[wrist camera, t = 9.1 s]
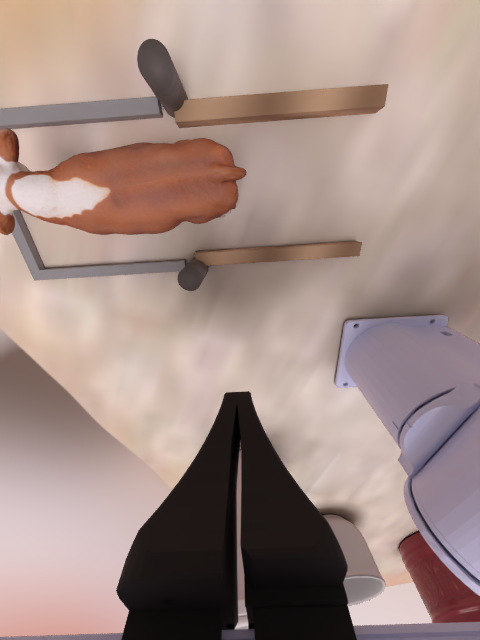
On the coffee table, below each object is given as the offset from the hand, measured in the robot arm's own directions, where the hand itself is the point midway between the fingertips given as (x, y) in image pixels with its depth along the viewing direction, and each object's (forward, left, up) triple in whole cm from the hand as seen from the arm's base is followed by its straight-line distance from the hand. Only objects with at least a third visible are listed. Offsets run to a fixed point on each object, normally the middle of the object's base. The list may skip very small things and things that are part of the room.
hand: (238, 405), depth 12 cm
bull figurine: (+6, -11, -10) cm, 16 cm away
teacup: (-12, +40, -10) cm, 43 cm away
